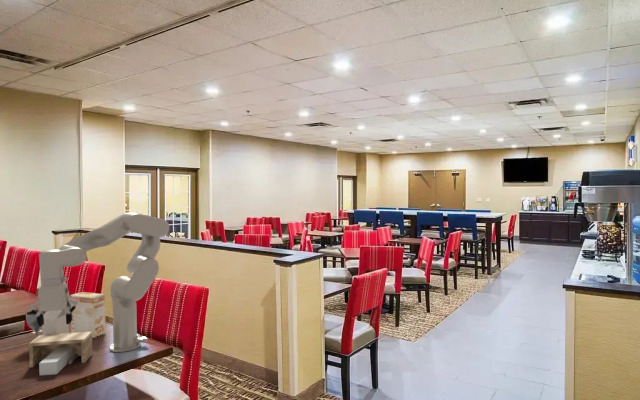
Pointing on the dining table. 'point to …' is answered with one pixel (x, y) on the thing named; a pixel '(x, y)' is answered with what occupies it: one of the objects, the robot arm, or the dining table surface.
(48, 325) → the milk carton
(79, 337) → the beige wooden bench
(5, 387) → the dining table surface
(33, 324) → the wine glass
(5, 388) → the dining table surface
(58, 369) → the white rectangular block
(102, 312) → the coffeecake box
